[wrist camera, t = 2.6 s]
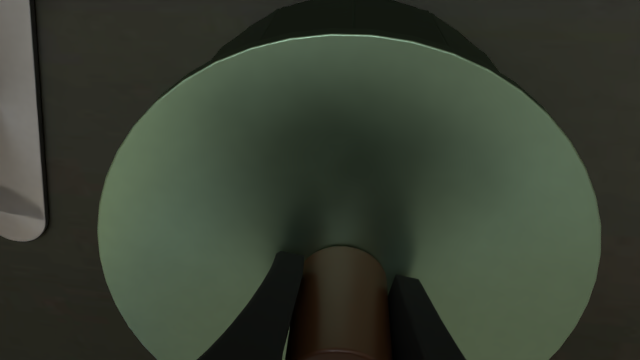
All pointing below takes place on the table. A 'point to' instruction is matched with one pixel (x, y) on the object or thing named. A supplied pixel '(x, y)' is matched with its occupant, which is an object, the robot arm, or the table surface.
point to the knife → (21, 126)
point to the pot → (357, 23)
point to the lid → (350, 200)
